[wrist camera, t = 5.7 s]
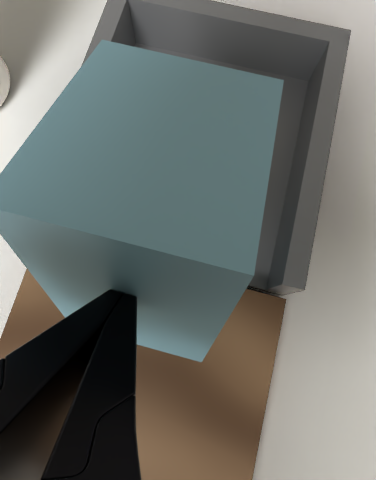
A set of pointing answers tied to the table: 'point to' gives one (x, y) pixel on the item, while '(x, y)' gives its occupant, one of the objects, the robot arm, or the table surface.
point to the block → (147, 191)
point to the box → (290, 113)
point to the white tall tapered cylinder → (4, 81)
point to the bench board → (187, 388)
